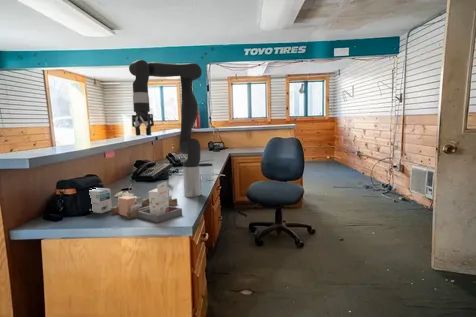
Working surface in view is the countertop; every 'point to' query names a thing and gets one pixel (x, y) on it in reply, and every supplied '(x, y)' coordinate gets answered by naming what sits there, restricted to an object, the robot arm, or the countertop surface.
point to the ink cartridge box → (159, 200)
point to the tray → (160, 218)
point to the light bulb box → (100, 200)
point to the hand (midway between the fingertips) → (143, 135)
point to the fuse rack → (140, 203)
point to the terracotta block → (125, 204)
